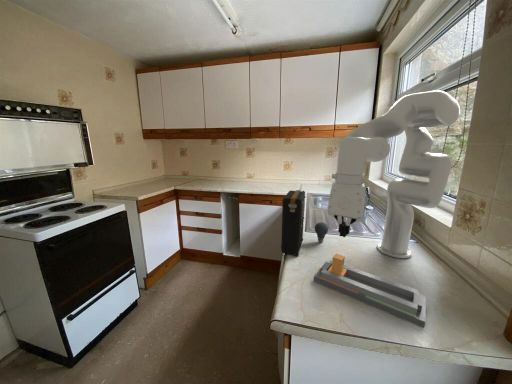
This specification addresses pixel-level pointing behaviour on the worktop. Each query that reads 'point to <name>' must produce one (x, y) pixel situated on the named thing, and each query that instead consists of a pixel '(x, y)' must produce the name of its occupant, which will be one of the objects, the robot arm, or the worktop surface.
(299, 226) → the black case
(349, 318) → the worktop surface
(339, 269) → the handle
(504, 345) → the worktop surface
